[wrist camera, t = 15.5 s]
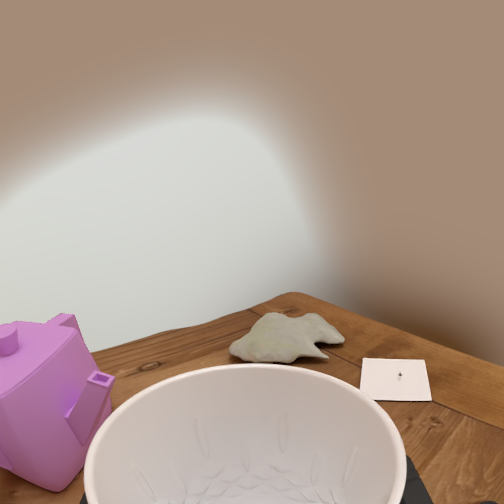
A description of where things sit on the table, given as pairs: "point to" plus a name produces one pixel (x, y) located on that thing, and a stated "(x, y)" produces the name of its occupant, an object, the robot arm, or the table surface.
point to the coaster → (395, 380)
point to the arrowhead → (285, 338)
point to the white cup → (247, 442)
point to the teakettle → (49, 400)
